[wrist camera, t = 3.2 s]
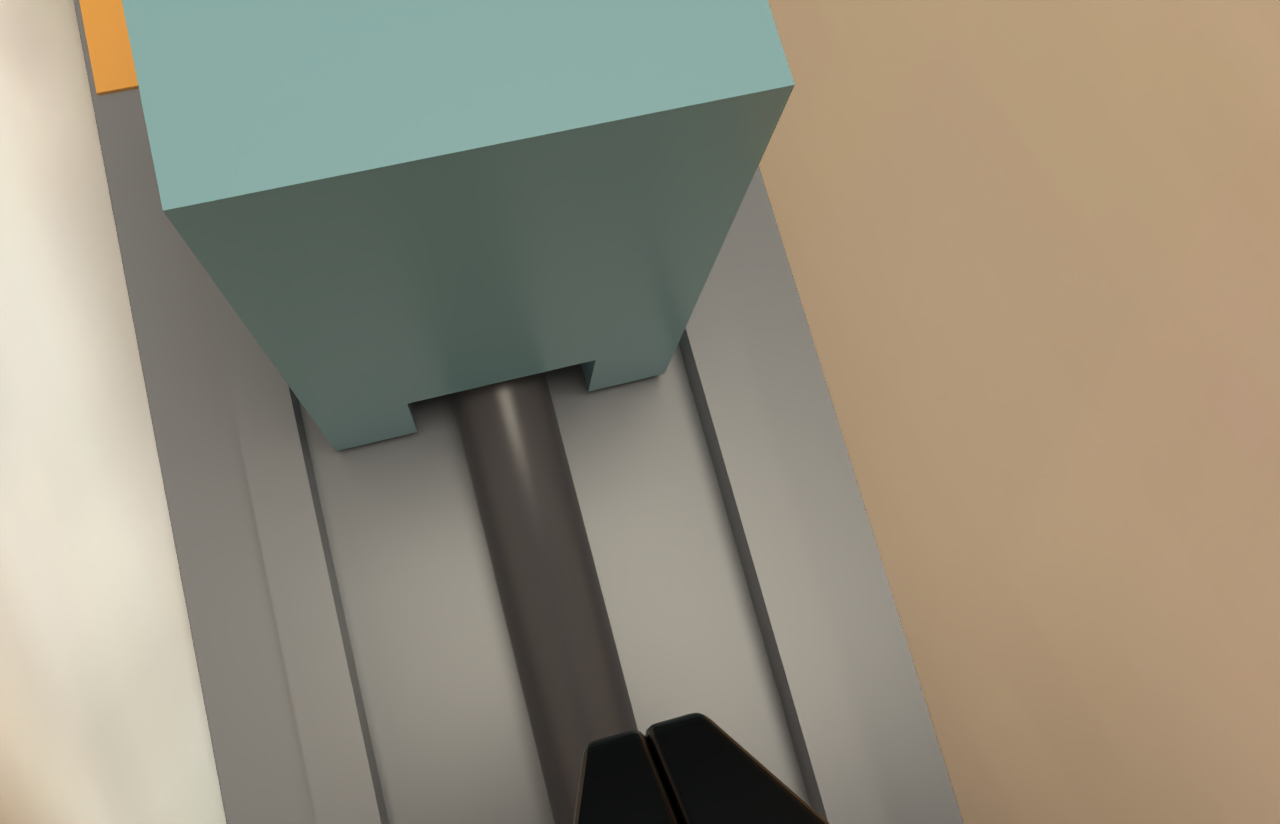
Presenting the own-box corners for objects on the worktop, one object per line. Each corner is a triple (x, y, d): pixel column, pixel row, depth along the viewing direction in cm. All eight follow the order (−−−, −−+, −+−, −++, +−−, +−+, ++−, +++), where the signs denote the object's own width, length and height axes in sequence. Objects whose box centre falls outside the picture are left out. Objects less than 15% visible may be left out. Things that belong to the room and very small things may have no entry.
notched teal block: (664, 373, 18) (794, 84, 10) (335, 451, 17) (162, 210, 9) (567, 27, 19) (606, -498, 11) (256, 85, 18) (37, -433, 10)
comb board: (992, 988, 18) (1226, 1128, 12) (318, 1216, 16) (206, 1507, 10) (561, -411, 23) (577, -788, 17) (24, -344, 21) (-161, -735, 16)
